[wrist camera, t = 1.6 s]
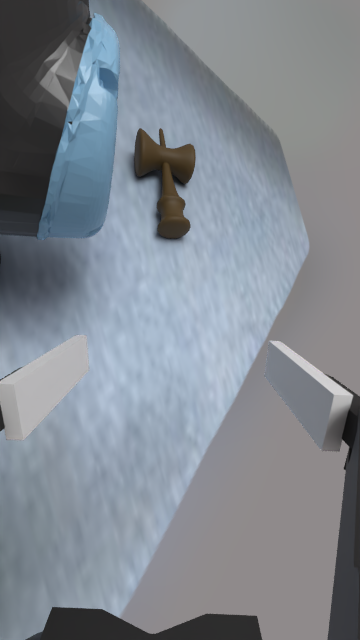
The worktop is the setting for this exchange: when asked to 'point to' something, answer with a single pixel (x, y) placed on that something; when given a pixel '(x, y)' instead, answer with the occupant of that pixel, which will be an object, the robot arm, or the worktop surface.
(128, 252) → the worktop surface
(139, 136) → the kendama
